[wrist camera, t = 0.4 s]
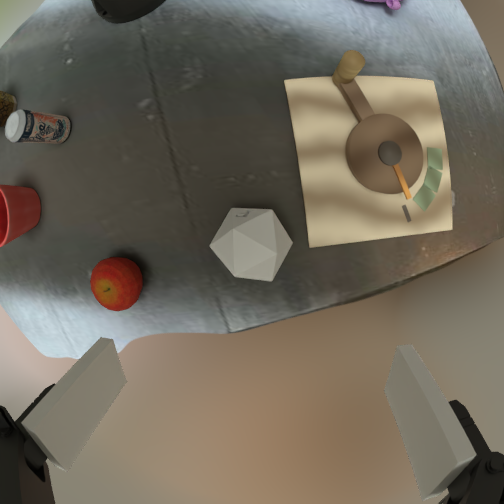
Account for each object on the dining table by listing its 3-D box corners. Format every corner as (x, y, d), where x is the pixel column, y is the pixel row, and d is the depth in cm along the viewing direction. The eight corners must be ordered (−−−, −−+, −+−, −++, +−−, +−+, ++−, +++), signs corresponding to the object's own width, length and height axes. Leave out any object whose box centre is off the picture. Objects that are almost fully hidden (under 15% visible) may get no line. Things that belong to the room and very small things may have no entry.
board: (284, 82, 32) (284, 79, 30) (429, 82, 29) (433, 80, 27) (308, 245, 37) (309, 247, 36) (448, 227, 34) (452, 229, 33)
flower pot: (23, 170, 38) (-14, 174, 29) (52, 195, 39) (13, 203, 29) (11, 217, 41) (-23, 227, 32) (39, 245, 42) (3, 259, 32)
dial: (428, 182, 32) (457, 184, 25) (369, 212, 34) (390, 221, 27) (366, 61, 28) (383, 39, 21) (302, 86, 30) (308, 65, 23)
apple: (102, 257, 41) (73, 273, 33) (140, 243, 39) (112, 257, 32) (121, 301, 42) (96, 323, 35) (159, 290, 41) (137, 313, 33)
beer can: (67, 146, 36) (14, 144, 25) (50, 140, 36) (0, 139, 25) (75, 118, 35) (24, 110, 23) (58, 114, 35) (9, 107, 23)
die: (302, 227, 37) (279, 191, 28) (289, 294, 35) (261, 276, 26) (245, 223, 41) (210, 190, 32) (230, 284, 39) (189, 264, 30)
